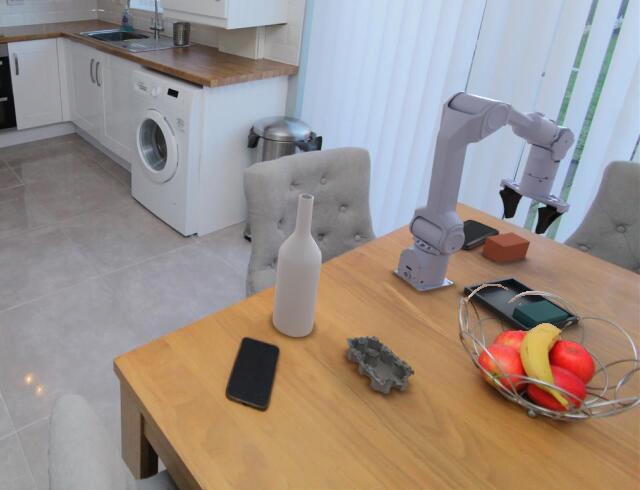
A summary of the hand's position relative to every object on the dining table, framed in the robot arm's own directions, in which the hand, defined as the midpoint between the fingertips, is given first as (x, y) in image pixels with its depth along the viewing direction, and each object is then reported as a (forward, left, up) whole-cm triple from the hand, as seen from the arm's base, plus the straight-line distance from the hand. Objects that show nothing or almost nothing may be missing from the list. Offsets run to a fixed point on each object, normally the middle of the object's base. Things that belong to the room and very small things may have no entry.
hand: (523, 225), depth 116 cm
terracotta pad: (-2, +1, -9) cm, 10 cm away
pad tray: (-17, -15, -9) cm, 24 cm away
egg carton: (-57, -21, -10) cm, 61 cm away
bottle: (-65, -6, -10) cm, 66 cm away
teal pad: (-17, -19, -9) cm, 27 cm away
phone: (-2, +11, -9) cm, 15 cm away
